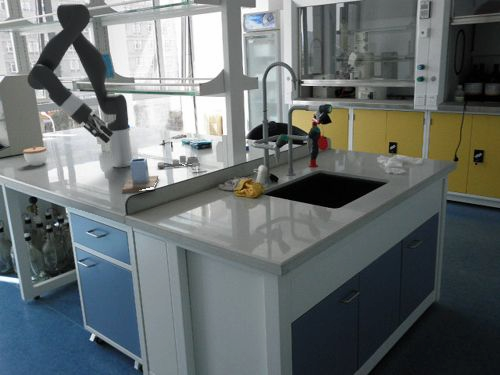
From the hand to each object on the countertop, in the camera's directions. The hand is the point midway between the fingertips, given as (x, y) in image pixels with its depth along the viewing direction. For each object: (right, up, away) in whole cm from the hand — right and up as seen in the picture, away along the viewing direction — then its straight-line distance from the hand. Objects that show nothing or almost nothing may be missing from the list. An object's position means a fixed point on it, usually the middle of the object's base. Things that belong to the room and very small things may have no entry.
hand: (110, 138), depth 179 cm
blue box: (+11, -17, +3) cm, 21 cm away
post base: (+11, -18, +4) cm, 22 cm away
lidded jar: (-53, -8, +53) cm, 75 cm away
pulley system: (+26, -10, +29) cm, 40 cm away
